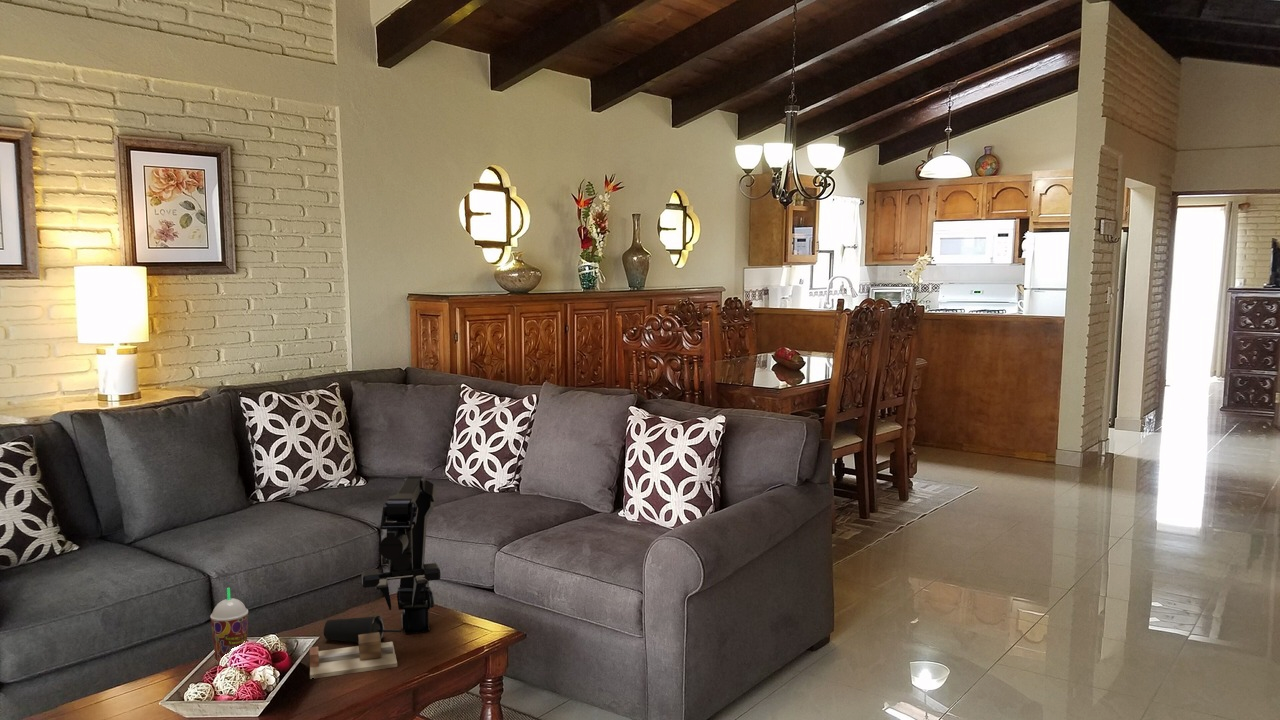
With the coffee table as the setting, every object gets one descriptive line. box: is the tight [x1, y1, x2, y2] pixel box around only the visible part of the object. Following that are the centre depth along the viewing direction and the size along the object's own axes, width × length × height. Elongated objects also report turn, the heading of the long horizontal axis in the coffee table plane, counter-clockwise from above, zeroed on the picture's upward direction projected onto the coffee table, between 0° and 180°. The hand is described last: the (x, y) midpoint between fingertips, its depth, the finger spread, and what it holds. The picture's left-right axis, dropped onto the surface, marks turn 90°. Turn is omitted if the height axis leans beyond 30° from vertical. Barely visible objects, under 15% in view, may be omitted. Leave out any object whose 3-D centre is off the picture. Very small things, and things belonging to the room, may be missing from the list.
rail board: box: [309, 641, 398, 680], centre depth 220 cm, size 20×14×4 cm
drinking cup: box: [323, 615, 402, 644], centre depth 233 cm, size 8×8×20 cm
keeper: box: [358, 632, 382, 660], centre depth 222 cm, size 5×6×4 cm
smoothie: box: [209, 587, 249, 662], centre depth 216 cm, size 8×8×20 cm
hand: (401, 608), depth 224 cm, fingers open, 5 cm apart
